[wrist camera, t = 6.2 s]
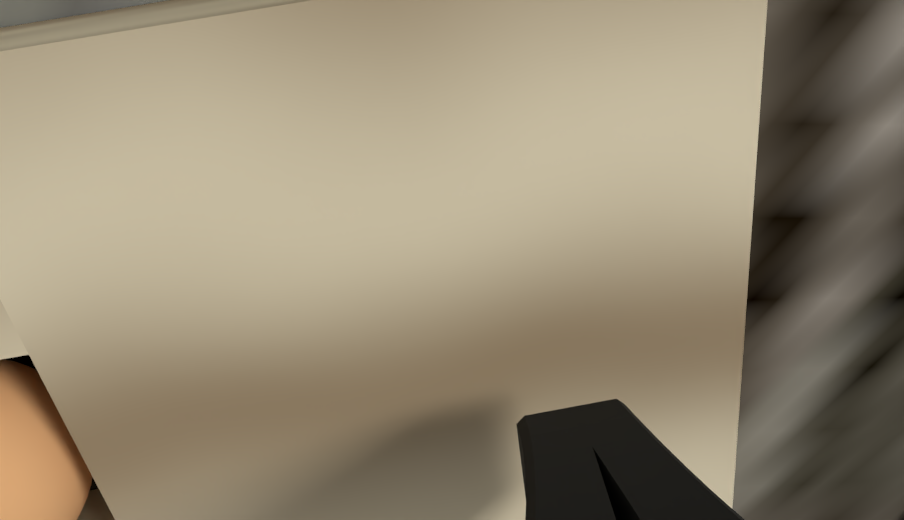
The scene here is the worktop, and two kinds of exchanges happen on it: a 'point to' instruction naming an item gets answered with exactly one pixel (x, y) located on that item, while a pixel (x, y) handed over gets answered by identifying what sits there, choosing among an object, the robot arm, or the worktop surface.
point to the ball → (36, 452)
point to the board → (375, 242)
